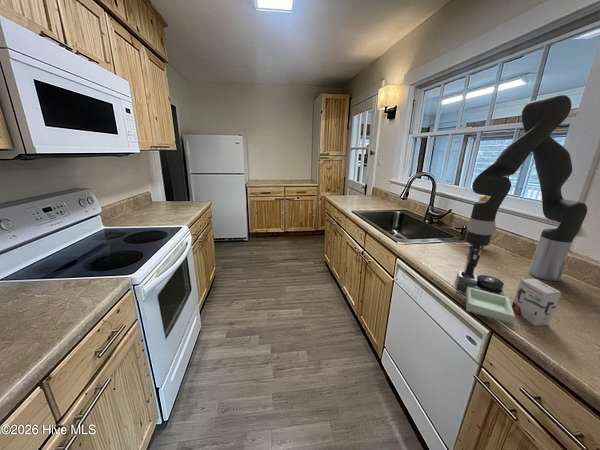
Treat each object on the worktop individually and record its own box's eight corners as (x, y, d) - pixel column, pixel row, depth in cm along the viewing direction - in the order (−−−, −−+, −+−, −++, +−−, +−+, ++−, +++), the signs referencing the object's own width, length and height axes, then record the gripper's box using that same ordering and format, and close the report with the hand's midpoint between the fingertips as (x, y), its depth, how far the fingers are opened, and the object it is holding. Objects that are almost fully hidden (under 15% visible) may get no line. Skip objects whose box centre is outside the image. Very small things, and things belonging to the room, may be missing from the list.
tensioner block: (498, 289, 94) (502, 276, 92) (502, 302, 86) (506, 288, 84) (456, 278, 101) (459, 266, 99) (455, 289, 93) (459, 277, 91)
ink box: (509, 308, 82) (519, 278, 79) (522, 308, 83) (533, 277, 79) (535, 326, 74) (547, 293, 71) (549, 325, 75) (562, 292, 71)
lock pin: (471, 279, 95) (477, 255, 92) (472, 282, 92) (478, 259, 89) (461, 276, 97) (467, 253, 94) (461, 280, 94) (467, 256, 91)
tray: (506, 304, 84) (508, 297, 84) (512, 324, 75) (515, 316, 74) (465, 293, 90) (467, 286, 90) (466, 310, 81) (468, 303, 80)
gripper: (494, 238, 81) (481, 283, 86) (490, 227, 92) (478, 268, 97) (467, 234, 84) (457, 277, 90) (466, 224, 96) (457, 263, 101)
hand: (468, 272), depth 93 cm, fingers closed on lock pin, 3 cm apart
